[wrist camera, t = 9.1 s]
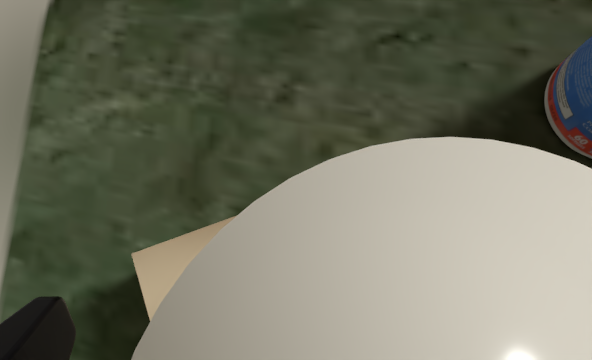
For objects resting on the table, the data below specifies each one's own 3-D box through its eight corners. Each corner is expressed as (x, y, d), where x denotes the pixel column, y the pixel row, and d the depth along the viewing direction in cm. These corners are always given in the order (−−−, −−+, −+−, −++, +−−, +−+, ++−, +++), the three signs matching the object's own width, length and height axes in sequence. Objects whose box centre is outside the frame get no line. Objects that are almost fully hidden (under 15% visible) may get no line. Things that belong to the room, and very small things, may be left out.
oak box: (467, 408, 19) (508, 439, 15) (235, 501, 18) (215, 558, 14) (374, 184, 21) (389, 160, 17) (164, 260, 21) (131, 253, 17)
